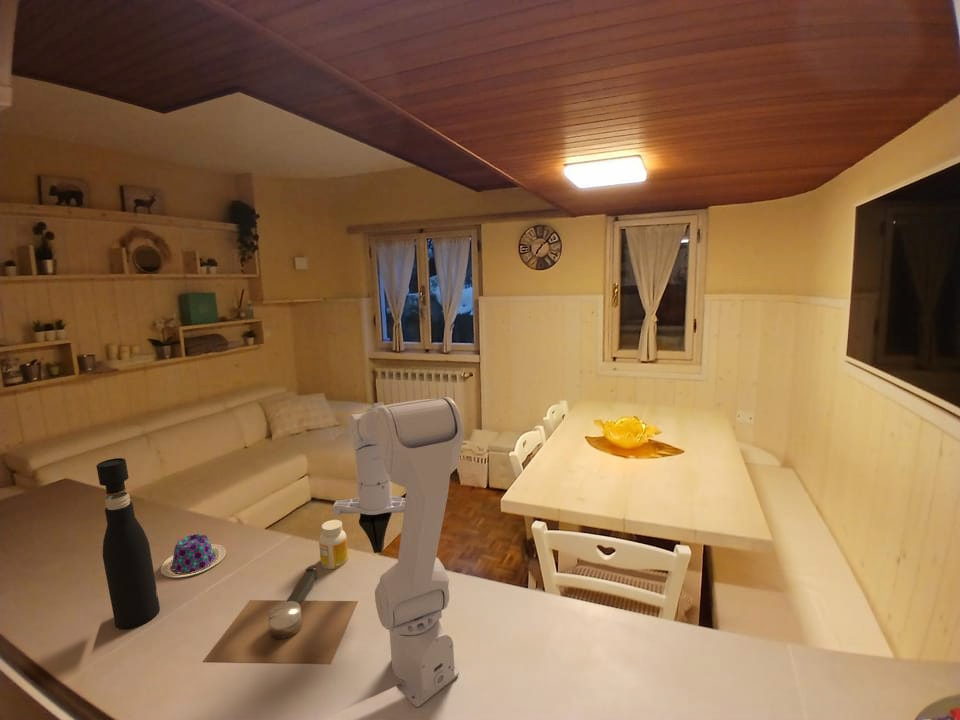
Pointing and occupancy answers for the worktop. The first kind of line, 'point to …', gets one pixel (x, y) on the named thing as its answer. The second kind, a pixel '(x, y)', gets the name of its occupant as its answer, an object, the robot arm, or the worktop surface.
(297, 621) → the round-headed handle tool
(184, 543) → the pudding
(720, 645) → the worktop surface
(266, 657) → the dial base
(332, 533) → the supplement bottle
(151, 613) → the black water bottle
